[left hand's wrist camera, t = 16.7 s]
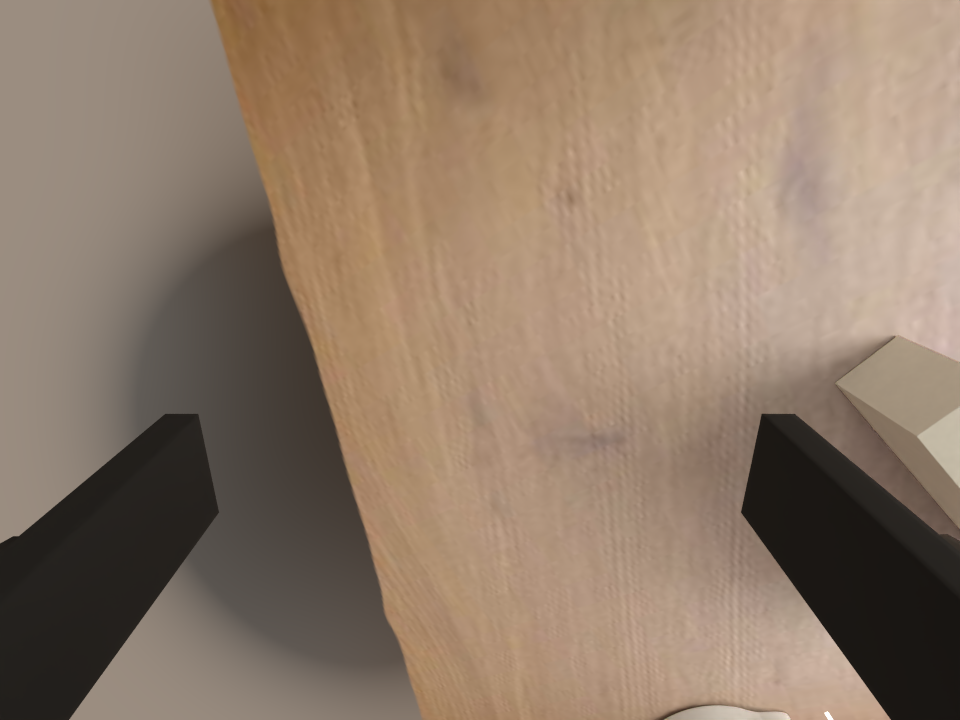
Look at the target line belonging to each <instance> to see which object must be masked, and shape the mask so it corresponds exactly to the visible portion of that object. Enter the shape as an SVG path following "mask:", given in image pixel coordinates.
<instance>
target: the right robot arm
mask: <svg viewBox="0 0 960 720" xmlns="http://www.w3.org/2000/svg"><path fill="white" fill-rule="evenodd" d="M825 714H826V716H827V718H828V719H829V720H833V719H832V717H831V716H830V714H829V713H828V712H826V713H825ZM664 720H791V719H790V717H789V715H788V714H786V713H784V712H777V711H770V712H754V711H749V710H746V709H742V708H738V707H733V706H725V705H710V706H701V707H695V708H691V709H687V710H684V711H681V712H678V713H676V714H673V715H671V716H669V717H667V718H666V719H664Z"/></svg>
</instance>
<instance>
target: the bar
mask: <svg viewBox="0 0 960 720" xmlns="http://www.w3.org/2000/svg"><path fill="white" fill-rule="evenodd" d="M835 384H836V385H837V386H838V388H839V389H840V390H841V391H842V392H843V393H844V395H845V396H846V397H847V398H848V399H849V400H850V402H851V403H852V404H853V405H854V406H855V407H856V409H857V410H858V411H859V412H860V413H861V415H862V416H863V417H864V418H865V419H866V420H867V422H868V423H869V424H870V425H871V426H872V427H873V429H874V430H875V431H876V432H877V433H878V434H879V436H880V437H881V438H882V439H883V440H884V441H885V443H886V444H887V445H888V446H889V447H890V449H891V450H892V451H893V452H894V453H895V454H896V456H897V457H898V458H899V459H900V460H901V461H902V463H903V464H904V465H905V466H906V467H907V468H908V470H909V471H910V472H911V473H912V474H913V476H914V477H915V478H916V479H917V480H918V481H919V483H920V484H921V485H922V486H923V487H924V488H925V490H926V491H927V492H928V493H929V494H930V495H931V497H932V498H933V499H934V500H935V501H936V502H937V504H938V505H939V506H940V507H941V508H942V510H943V511H944V512H945V513H946V514H947V515H948V517H949V518H950V519H951V520H952V521H953V522H954V524H955V525H956V526H957V527H958V528H959V529H960V362H958V361H956V360H954V359H952V358H949V357H947V356H945V355H942V354H940V353H938V352H936V351H933V350H931V349H929V348H927V347H924V346H922V345H920V344H917V343H915V342H913V341H911V340H908V339H906V338H904V337H902V336H899V335H898V336H897V337H895V338H894V339H893V340H891V341H890V342H889V343H887V344H886V345H885V346H883V347H882V348H881V349H879V350H878V351H877V352H875V353H874V354H873V355H871V356H870V357H869V358H867V359H866V360H865V361H863V362H862V363H861V364H859V365H858V366H857V367H855V368H854V369H853V370H851V371H850V372H849V373H847V374H846V375H845V376H843V377H842V378H841V379H840V380H838V381H837V382H836V383H835Z"/></svg>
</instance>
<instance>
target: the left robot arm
mask: <svg viewBox="0 0 960 720" xmlns="http://www.w3.org/2000/svg"><path fill="white" fill-rule="evenodd" d="M218 513H219V511H218V506H217V501H216V496H215V492H214V487H213V482H212V477H211V473H210V468H209V463H208V458H207V454H206V449H205V444H204V439H203V435H202V430H201V425H200V420H199V415H198V414H165V415H164V416H162V417H161V418H160V419H159V420H158V421H156V422H155V423H154V424H153V425H152V426H150V427H149V428H148V429H147V430H146V431H144V432H143V433H142V434H141V435H140V436H138V437H137V438H136V439H135V440H134V441H132V442H131V443H130V444H129V445H128V446H126V447H125V448H124V449H123V450H122V451H120V452H119V453H118V454H117V455H116V456H114V457H113V458H112V459H111V460H110V461H109V462H107V463H106V464H105V465H104V466H102V467H101V468H100V469H99V470H98V471H97V472H95V473H94V474H93V475H92V476H91V477H89V478H88V479H87V480H86V481H85V482H83V483H82V484H81V485H80V486H79V487H77V488H76V489H75V490H74V491H73V492H71V493H70V494H69V495H68V496H67V497H65V498H64V499H63V500H62V501H61V502H59V503H58V504H57V505H56V506H55V507H53V508H52V509H51V510H50V511H49V512H47V513H46V514H45V515H44V516H43V517H41V518H40V519H39V520H38V521H37V522H35V523H34V524H33V525H32V526H31V527H29V528H28V529H27V530H26V531H25V532H23V533H22V534H21V535H20V536H13V537H11V538H9V539H8V540H6V541H4V542H2V543H0V720H69V719H70V717H71V716H72V715H73V713H74V712H75V711H76V709H77V708H78V706H79V705H80V704H81V702H82V701H83V700H84V698H85V697H86V695H87V694H88V693H89V691H90V690H91V689H92V687H93V686H94V684H95V683H96V682H97V680H98V679H99V677H100V676H101V675H102V673H103V672H104V671H105V669H106V668H107V666H108V665H109V664H110V662H111V661H112V659H113V658H114V657H115V655H116V654H117V653H118V651H119V650H120V648H121V647H122V646H123V644H124V643H125V641H126V640H127V639H128V637H129V636H130V635H131V633H132V632H133V630H134V629H135V628H136V626H137V625H138V624H139V622H140V621H141V619H142V618H143V617H144V615H145V614H146V612H147V611H148V610H149V608H150V607H151V605H152V604H153V603H154V601H155V600H156V599H157V597H158V596H159V594H160V593H161V592H162V590H163V589H164V588H165V586H166V585H167V583H168V582H169V581H170V579H171V578H172V576H173V575H174V574H175V572H176V571H177V570H178V568H179V567H180V565H181V564H182V563H183V561H184V560H185V559H186V557H187V556H188V554H189V553H190V552H191V550H192V549H193V547H194V546H195V545H196V543H197V542H198V541H199V539H200V538H201V536H202V535H203V534H204V532H205V531H206V529H207V528H208V527H209V525H210V524H211V522H212V521H213V520H214V518H215V517H216V516H217V514H218ZM741 513H742V514H743V516H744V517H745V518H746V520H747V521H748V523H749V524H750V525H751V527H752V528H753V529H754V531H755V532H756V534H757V535H758V536H759V538H760V539H761V541H762V542H763V543H764V545H765V546H766V547H767V549H768V550H769V552H770V553H771V554H772V556H773V557H774V559H775V560H776V561H777V563H778V564H779V565H780V567H781V568H782V570H783V571H784V572H785V574H786V575H787V576H788V578H789V579H790V581H791V582H792V583H793V585H794V586H795V588H796V589H797V590H798V592H799V593H800V594H801V596H802V597H803V599H804V600H805V601H806V603H807V604H808V606H809V607H810V608H811V610H812V611H813V612H814V614H815V615H816V617H817V618H818V619H819V621H820V622H821V624H822V625H823V626H824V628H825V629H826V630H827V632H828V633H829V635H830V636H831V637H832V639H833V640H834V641H835V643H836V644H837V646H838V647H839V648H840V650H841V651H842V653H843V654H844V655H845V657H846V658H847V659H848V661H849V662H850V664H851V665H852V666H853V668H854V669H855V671H856V672H857V673H858V675H859V676H860V677H861V679H862V680H863V682H864V683H865V684H866V686H867V687H868V689H869V690H870V691H871V693H872V694H873V695H874V697H875V698H876V700H877V701H878V702H879V704H880V705H881V706H882V708H883V709H884V711H885V712H886V713H887V715H888V716H889V718H890V719H891V720H960V541H958V540H957V539H955V538H953V537H951V536H949V535H939V534H938V533H937V532H935V531H934V530H933V529H932V528H931V527H929V526H928V525H927V524H926V523H925V522H923V521H922V520H921V519H920V518H919V517H917V516H916V515H915V514H914V513H913V512H911V511H910V510H909V509H908V508H907V507H905V506H904V505H903V504H902V503H901V502H899V501H898V500H897V499H896V498H895V497H893V496H892V495H891V494H890V493H889V492H887V491H886V490H885V489H884V488H883V487H881V486H880V485H879V484H878V483H877V482H876V481H874V480H873V479H872V478H871V477H870V476H868V475H867V474H866V473H865V472H864V471H862V470H861V469H860V468H859V467H858V466H856V465H855V464H854V463H853V462H852V461H850V460H849V459H848V458H847V457H846V456H844V455H843V454H842V453H841V452H840V451H838V450H837V449H836V448H835V447H834V446H832V445H831V444H830V443H829V442H828V441H826V440H825V439H824V438H823V437H822V436H820V435H819V434H818V433H817V432H816V431H814V430H813V429H812V428H811V427H810V426H808V425H807V424H806V423H805V422H804V421H802V420H801V419H800V418H799V417H798V416H796V415H795V414H762V415H761V420H760V425H759V430H758V435H757V439H756V444H755V449H754V454H753V458H752V463H751V468H750V473H749V477H748V482H747V487H746V492H745V496H744V501H743V506H742V511H741Z"/></svg>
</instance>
